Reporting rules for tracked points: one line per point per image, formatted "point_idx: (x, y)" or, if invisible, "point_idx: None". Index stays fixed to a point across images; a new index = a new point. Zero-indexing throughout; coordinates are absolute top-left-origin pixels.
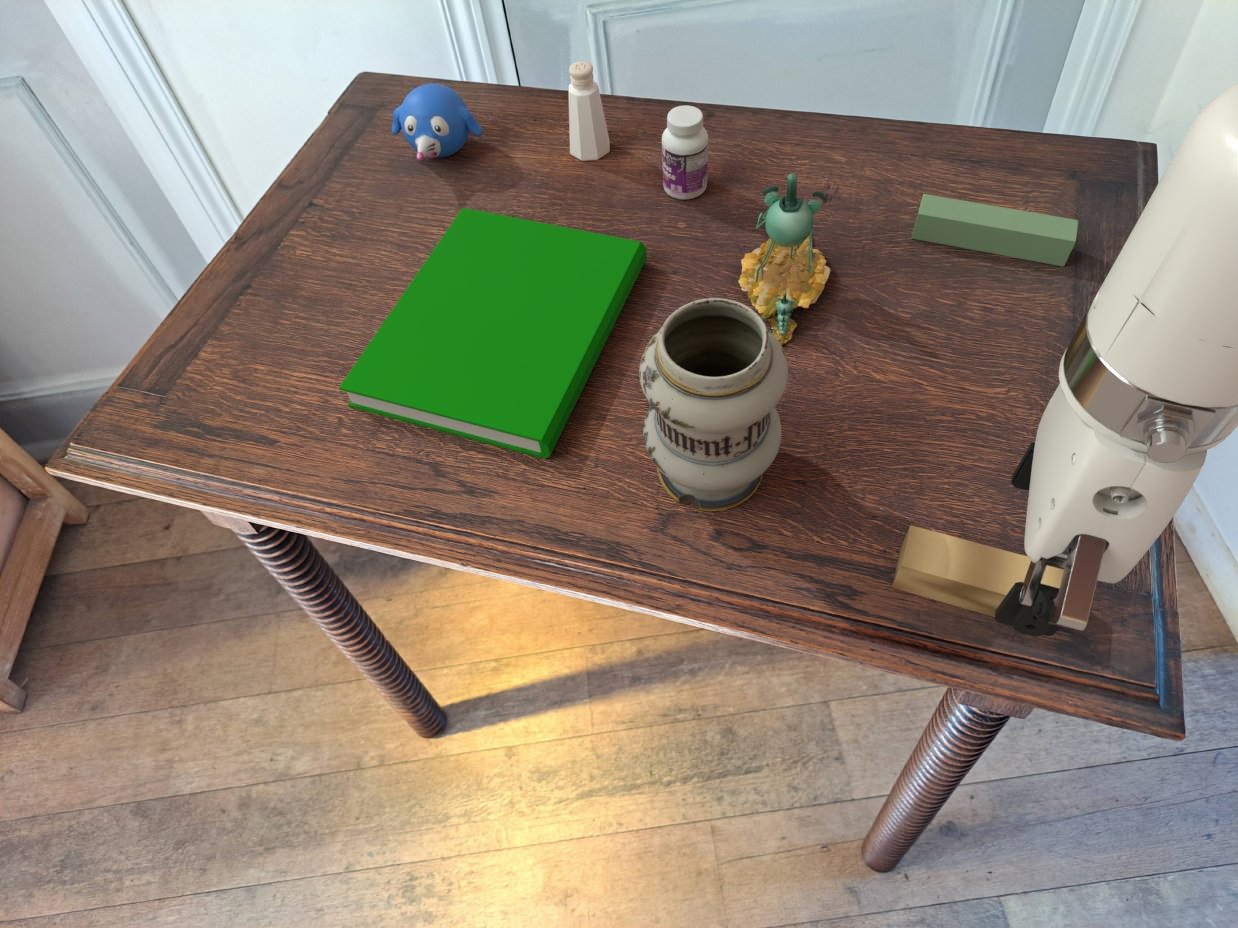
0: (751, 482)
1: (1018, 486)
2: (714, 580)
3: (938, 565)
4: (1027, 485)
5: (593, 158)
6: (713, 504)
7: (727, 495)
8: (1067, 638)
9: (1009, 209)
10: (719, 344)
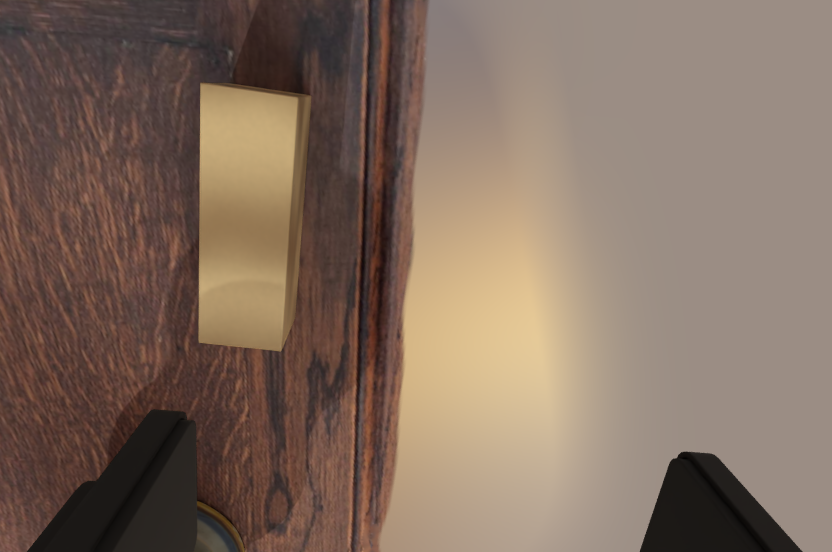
0: None
1: (194, 539)
2: (343, 520)
3: (264, 298)
4: (186, 531)
5: None
6: (233, 547)
7: (213, 536)
8: (314, 55)
9: None
10: None
